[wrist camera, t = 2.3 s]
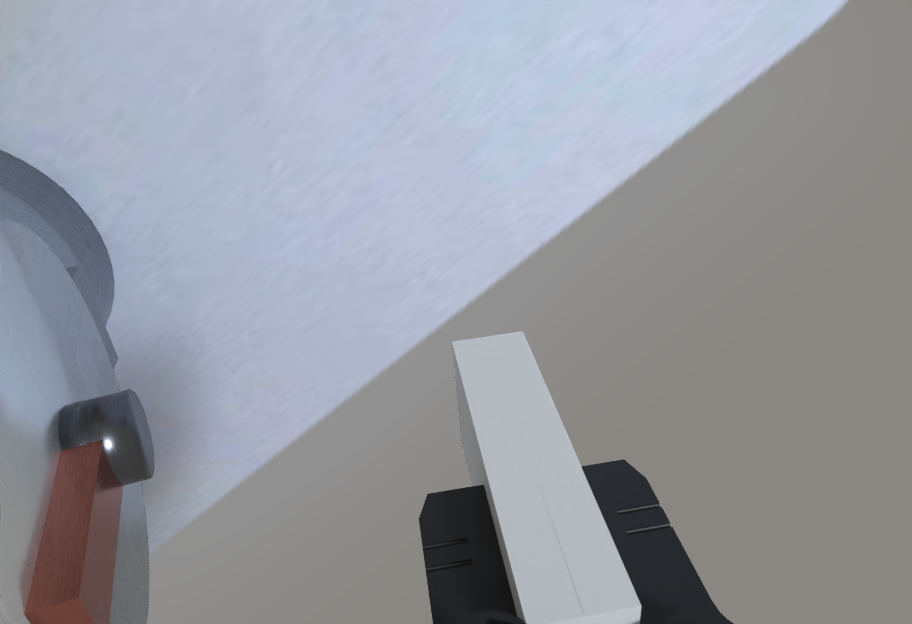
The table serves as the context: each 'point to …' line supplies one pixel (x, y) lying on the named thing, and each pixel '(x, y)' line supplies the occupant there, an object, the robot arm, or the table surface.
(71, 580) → the lid
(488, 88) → the table surface
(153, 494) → the table surface
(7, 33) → the table surface
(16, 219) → the pot
